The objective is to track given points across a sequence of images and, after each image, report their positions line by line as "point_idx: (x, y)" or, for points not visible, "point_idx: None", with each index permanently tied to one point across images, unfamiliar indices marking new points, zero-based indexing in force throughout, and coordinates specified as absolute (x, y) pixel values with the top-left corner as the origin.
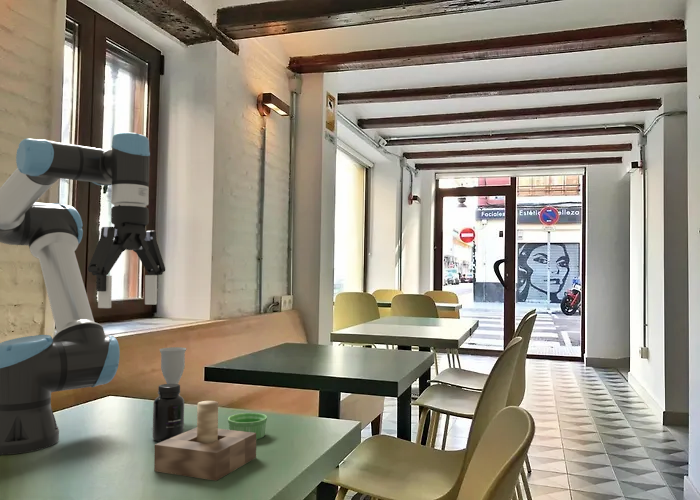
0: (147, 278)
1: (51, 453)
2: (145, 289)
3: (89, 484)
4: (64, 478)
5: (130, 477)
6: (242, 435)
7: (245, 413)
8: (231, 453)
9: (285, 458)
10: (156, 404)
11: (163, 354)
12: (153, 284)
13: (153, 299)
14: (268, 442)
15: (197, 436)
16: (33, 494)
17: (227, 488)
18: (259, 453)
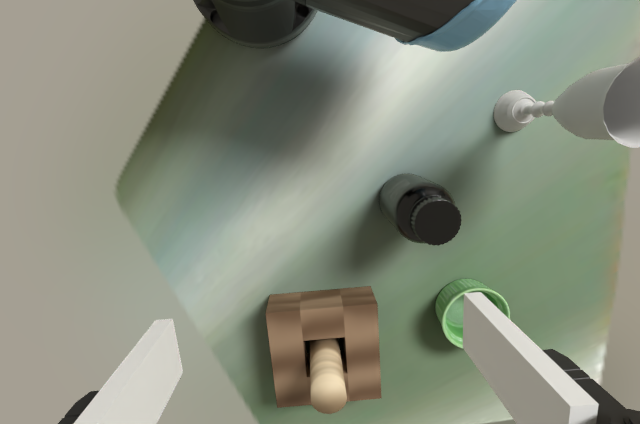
0: (551, 404)
1: (252, 84)
2: (505, 338)
3: (192, 258)
4: (188, 209)
5: (237, 284)
6: (361, 389)
7: (501, 299)
8: None
9: (388, 404)
10: (395, 208)
11: (602, 95)
12: (519, 417)
13: (474, 355)
14: (443, 349)
15: (312, 354)
16: (131, 225)
17: (267, 405)
18: (392, 366)
